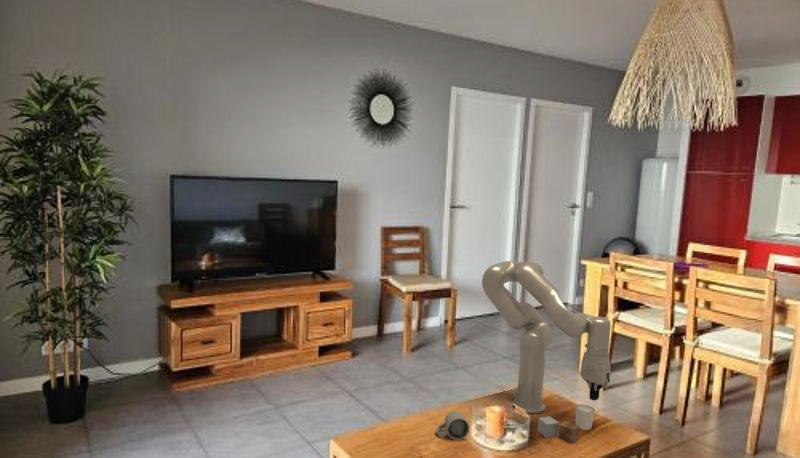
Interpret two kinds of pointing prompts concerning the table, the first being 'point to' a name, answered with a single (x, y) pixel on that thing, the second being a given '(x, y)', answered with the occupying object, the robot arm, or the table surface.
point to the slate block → (548, 427)
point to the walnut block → (569, 432)
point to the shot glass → (584, 416)
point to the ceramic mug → (454, 426)
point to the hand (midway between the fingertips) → (593, 399)
